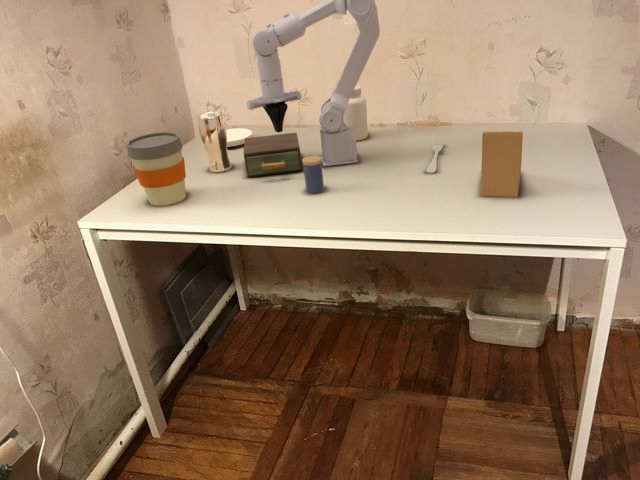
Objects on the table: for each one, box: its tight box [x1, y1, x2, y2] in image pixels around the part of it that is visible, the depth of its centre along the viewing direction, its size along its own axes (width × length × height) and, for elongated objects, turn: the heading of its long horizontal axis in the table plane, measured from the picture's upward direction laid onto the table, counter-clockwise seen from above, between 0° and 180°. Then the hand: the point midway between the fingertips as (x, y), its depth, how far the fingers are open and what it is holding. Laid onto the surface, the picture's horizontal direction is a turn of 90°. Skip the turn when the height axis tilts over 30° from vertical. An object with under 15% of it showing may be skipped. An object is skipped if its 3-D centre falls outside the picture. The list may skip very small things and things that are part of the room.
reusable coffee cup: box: [126, 131, 187, 207], centre depth 141 cm, size 12×12×15 cm
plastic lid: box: [226, 127, 254, 148], centre depth 181 cm, size 14×14×2 cm
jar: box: [301, 155, 325, 195], centre depth 140 cm, size 5×5×8 cm
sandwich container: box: [480, 130, 524, 198], centre depth 134 cm, size 9×15×15 cm, turn 166°
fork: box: [426, 144, 444, 174], centre depth 155 cm, size 3×21×3 cm, turn 167°
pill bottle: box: [344, 85, 369, 142], centre depth 173 cm, size 8×8×15 cm
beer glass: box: [197, 111, 232, 173], centre depth 157 cm, size 7×7×15 cm
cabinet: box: [243, 132, 304, 178], centre depth 158 cm, size 14×15×7 cm
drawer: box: [246, 150, 300, 175], centre depth 155 cm, size 17×13×5 cm
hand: (278, 131), depth 156 cm, fingers closed
